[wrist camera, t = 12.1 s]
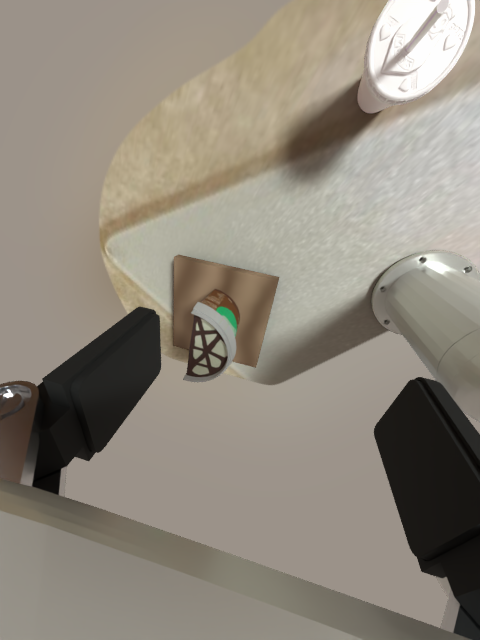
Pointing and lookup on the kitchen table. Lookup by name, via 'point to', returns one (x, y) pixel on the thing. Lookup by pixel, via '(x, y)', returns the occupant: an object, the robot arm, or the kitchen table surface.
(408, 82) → the smoothie
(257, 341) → the tan square plate
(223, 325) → the food container
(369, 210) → the kitchen table surface
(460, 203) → the kitchen table surface
